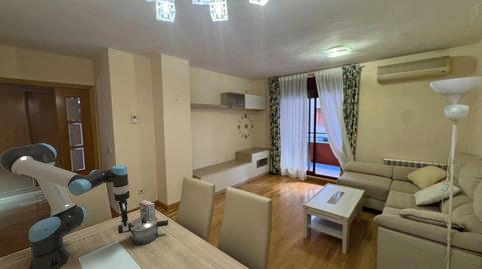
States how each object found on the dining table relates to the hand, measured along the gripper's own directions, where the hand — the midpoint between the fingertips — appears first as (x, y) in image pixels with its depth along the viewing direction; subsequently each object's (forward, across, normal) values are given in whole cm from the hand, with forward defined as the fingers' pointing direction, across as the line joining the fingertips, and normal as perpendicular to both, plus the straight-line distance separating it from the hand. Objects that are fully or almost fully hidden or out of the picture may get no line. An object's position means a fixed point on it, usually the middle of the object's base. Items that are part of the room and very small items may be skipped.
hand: (125, 230), depth 114 cm
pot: (+10, +2, -10) cm, 14 cm away
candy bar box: (+10, +16, -15) cm, 24 cm away
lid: (+1, +2, -7) cm, 8 cm away
